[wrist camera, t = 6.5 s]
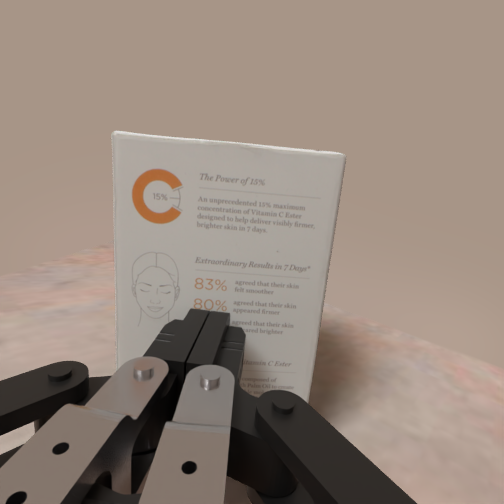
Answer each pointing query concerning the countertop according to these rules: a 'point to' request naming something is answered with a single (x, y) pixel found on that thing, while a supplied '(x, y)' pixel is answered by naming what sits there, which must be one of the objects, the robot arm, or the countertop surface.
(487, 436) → the countertop surface
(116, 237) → the small box
